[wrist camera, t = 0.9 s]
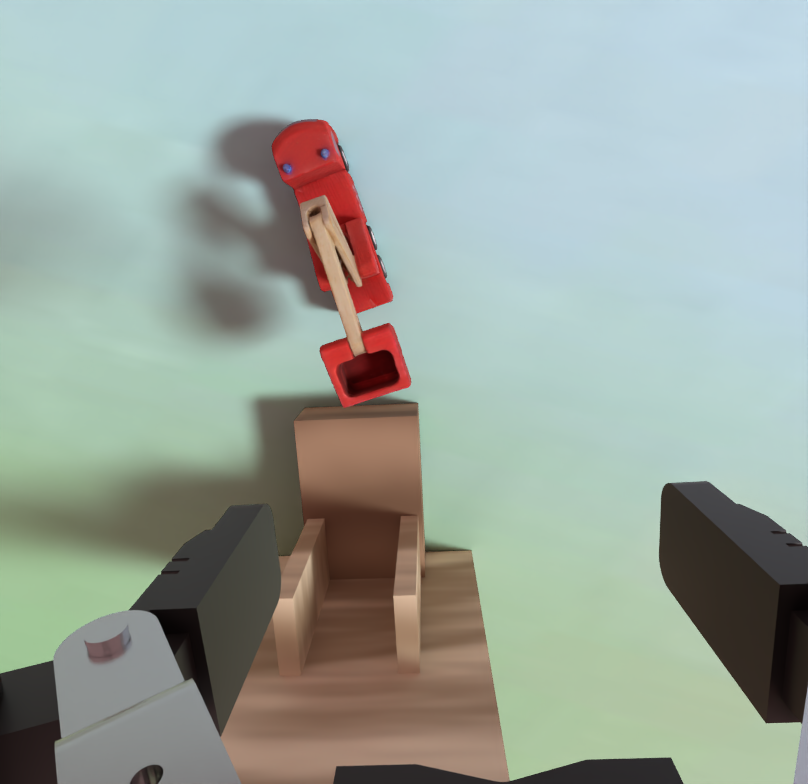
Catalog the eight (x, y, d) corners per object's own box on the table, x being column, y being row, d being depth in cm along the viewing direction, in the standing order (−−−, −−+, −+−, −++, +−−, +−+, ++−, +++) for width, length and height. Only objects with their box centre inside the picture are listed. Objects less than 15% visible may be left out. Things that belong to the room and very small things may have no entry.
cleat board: (257, 409, 34) (33, 599, 15) (467, 401, 33) (526, 586, 14) (276, 583, 37) (109, 941, 17) (472, 578, 36) (528, 942, 17)
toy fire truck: (335, 124, 30) (295, 59, 21) (416, 356, 33) (412, 391, 24) (280, 145, 31) (216, 92, 21) (364, 373, 33) (340, 415, 24)
